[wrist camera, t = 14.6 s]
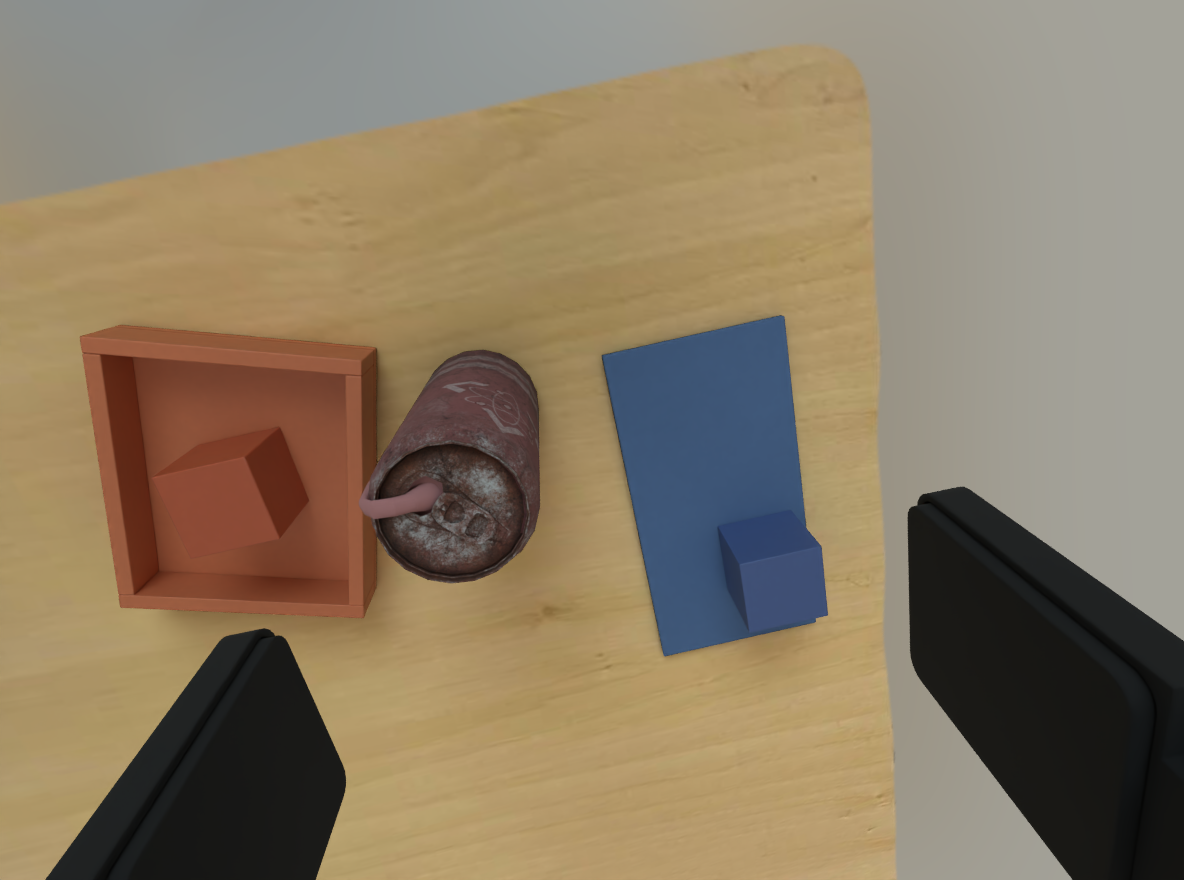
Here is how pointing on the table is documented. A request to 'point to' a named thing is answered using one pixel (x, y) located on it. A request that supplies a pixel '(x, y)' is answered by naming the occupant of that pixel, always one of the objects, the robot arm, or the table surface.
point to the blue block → (773, 570)
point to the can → (461, 472)
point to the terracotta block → (232, 492)
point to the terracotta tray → (223, 410)
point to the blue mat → (704, 464)
